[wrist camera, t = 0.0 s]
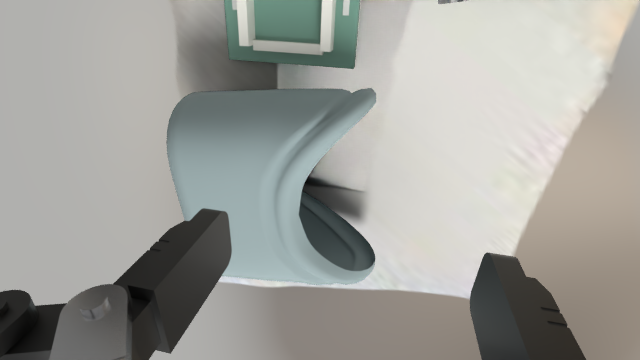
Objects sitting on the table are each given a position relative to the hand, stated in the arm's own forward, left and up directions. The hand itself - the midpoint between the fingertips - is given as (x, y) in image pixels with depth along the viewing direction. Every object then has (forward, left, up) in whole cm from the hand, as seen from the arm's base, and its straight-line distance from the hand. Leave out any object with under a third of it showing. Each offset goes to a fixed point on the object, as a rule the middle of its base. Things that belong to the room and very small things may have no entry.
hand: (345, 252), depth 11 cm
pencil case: (+12, -9, -30) cm, 33 cm away
